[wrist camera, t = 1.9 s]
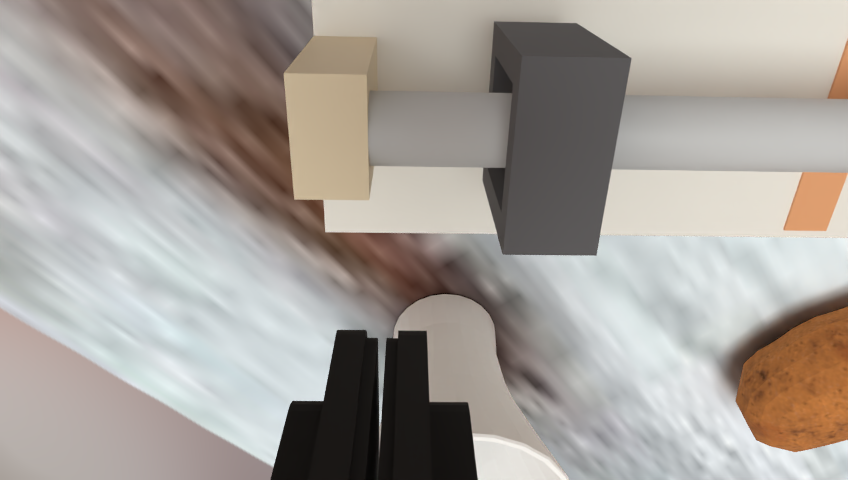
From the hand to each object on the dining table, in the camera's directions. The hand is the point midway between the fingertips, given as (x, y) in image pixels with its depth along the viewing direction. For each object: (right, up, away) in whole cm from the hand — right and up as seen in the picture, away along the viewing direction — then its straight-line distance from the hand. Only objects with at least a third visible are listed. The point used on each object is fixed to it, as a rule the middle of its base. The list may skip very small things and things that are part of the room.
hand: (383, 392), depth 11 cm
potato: (+26, -3, +28) cm, 39 cm away
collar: (+6, +9, +17) cm, 20 cm away
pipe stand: (+13, +11, +20) cm, 26 cm away
